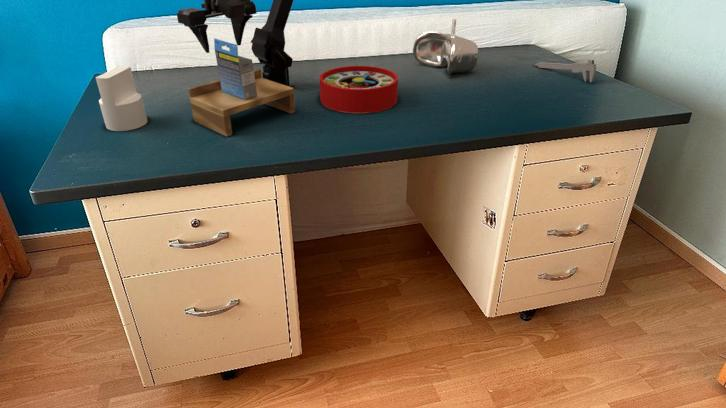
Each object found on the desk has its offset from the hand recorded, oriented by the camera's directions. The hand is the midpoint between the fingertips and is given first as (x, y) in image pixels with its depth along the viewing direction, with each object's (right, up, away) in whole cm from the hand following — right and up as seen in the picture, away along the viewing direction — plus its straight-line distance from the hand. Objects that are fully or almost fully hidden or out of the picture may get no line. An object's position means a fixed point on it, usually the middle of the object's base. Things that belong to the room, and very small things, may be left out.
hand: (223, 48), depth 124 cm
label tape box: (+6, -13, -8) cm, 16 cm away
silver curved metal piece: (+59, +3, +30) cm, 66 cm away
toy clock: (+33, -11, +7) cm, 36 cm away
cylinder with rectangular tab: (-20, -20, -7) cm, 29 cm away
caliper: (+93, 0, +26) cm, 97 cm away
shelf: (+6, -17, -4) cm, 19 cm away
